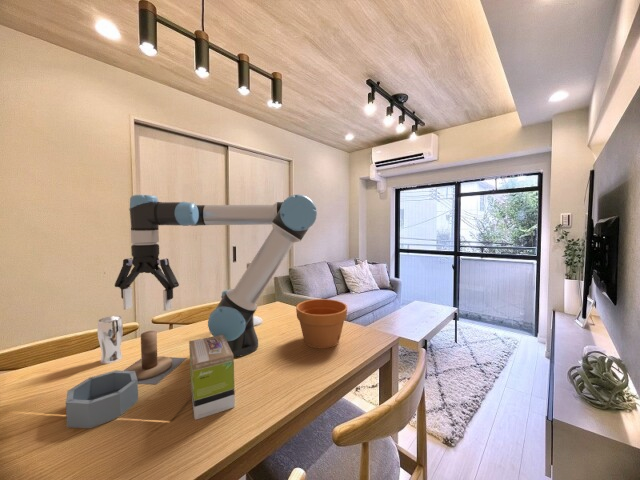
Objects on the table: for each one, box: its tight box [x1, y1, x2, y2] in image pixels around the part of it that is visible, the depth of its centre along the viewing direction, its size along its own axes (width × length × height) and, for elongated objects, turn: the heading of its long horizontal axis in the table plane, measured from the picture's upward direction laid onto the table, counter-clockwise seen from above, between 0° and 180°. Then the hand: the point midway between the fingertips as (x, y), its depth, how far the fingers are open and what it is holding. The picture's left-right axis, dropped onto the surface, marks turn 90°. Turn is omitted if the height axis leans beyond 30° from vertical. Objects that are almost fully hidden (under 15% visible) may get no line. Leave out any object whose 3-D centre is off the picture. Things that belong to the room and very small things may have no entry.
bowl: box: [65, 370, 139, 429], centre depth 69 cm, size 14×14×6 cm
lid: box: [125, 330, 172, 380], centre depth 87 cm, size 13×13×12 cm
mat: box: [122, 356, 188, 386], centre depth 88 cm, size 16×16×1 cm
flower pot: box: [295, 298, 348, 349], centre depth 110 cm, size 21×21×15 cm
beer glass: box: [97, 315, 124, 365], centre depth 93 cm, size 7×7×15 cm
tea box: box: [188, 334, 236, 421], centre depth 73 cm, size 15×10×15 cm, turn 29°
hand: (147, 308), depth 87 cm, fingers open, 13 cm apart
